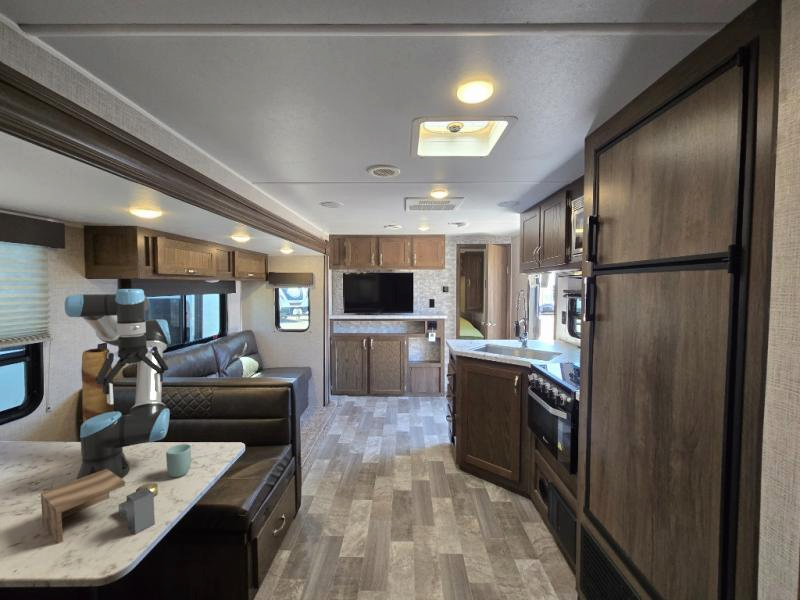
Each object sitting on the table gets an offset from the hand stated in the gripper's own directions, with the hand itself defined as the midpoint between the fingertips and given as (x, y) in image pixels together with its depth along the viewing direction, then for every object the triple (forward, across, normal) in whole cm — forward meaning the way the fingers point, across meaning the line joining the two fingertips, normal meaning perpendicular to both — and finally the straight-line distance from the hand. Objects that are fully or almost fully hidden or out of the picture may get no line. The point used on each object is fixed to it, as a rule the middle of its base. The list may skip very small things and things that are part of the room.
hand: (135, 397), depth 117 cm
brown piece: (+34, -14, +1) cm, 37 cm away
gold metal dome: (+35, +1, -3) cm, 35 cm away
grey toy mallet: (+34, -7, -13) cm, 37 cm away
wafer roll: (+35, +4, +46) cm, 58 cm away
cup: (+35, +14, +2) cm, 37 cm away
